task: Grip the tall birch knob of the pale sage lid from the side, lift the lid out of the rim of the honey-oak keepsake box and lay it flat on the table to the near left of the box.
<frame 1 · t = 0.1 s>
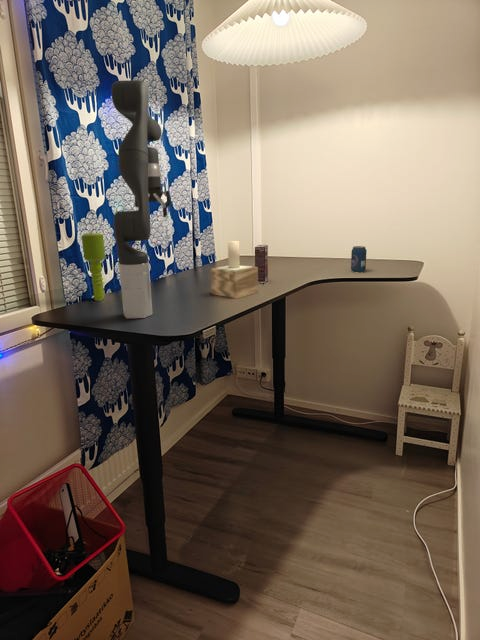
hand: (154, 217, 183), 29 cm above the table, tool pointing down, fingers open, 8 cm apart
supplement box: (261, 282, 198), on the table
keepsake box: (234, 293, 176), on the table
lid: (234, 270, 174), point 9 cm above the table, touching keepsake box
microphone: (99, 299, 172), on the table
soda can: (358, 272, 217), on the table
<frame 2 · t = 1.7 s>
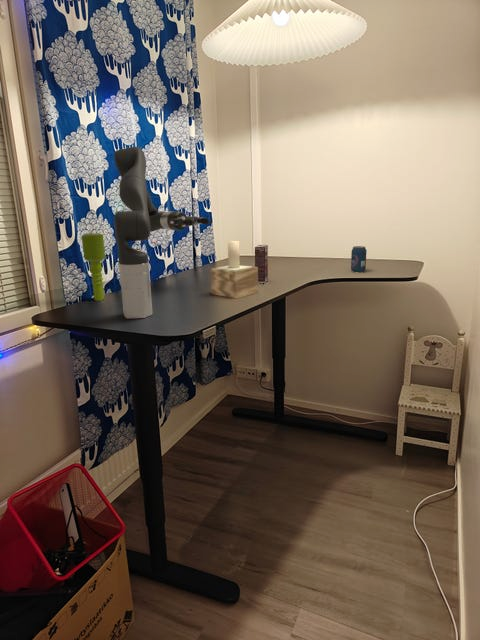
hand: (200, 221, 174), 28 cm above the table, tool horizontal, fingers open, 8 cm apart
nothing on the table moved.
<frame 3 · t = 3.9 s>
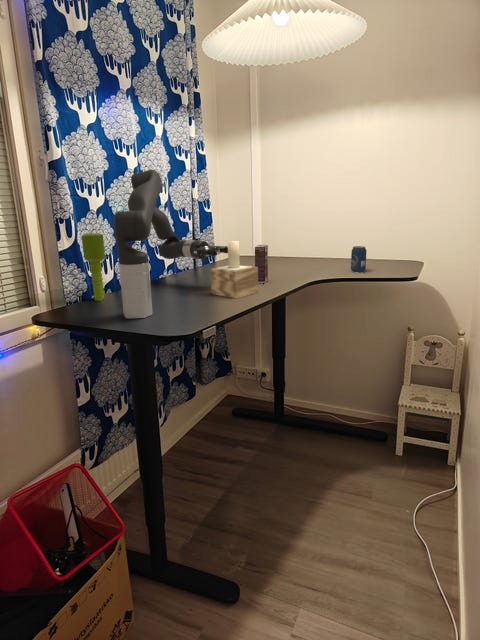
hand: (224, 251, 176), 16 cm above the table, tool horizontal, fingers open, 8 cm apart
nothing on the table moved.
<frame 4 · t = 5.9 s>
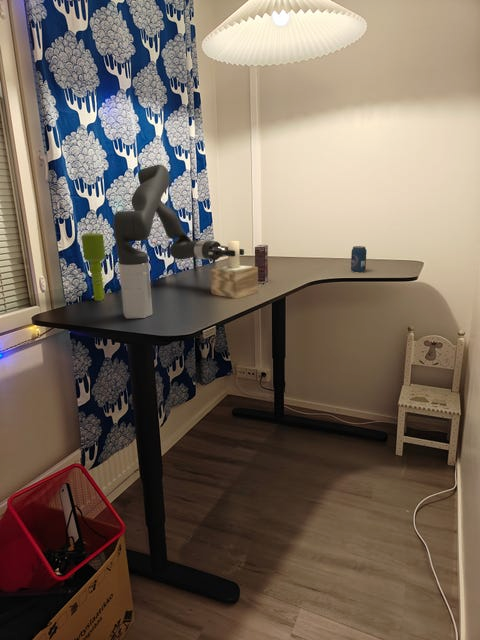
hand: (238, 252, 170), 16 cm above the table, tool horizontal, fingers closed on lid, 4 cm apart
lid: (234, 270, 174), point 9 cm above the table, touching gripper, keepsake box
everything else where it was.
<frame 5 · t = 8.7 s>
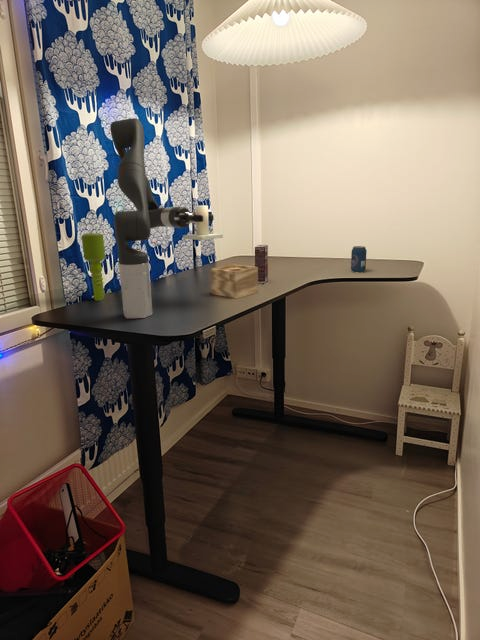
hand: (207, 218, 155), 30 cm above the table, tool horizontal, fingers closed on lid, 4 cm apart
lid: (203, 238, 159), point 23 cm above the table, touching gripper
everything else where it was.
when the fingers open (9 cm above the table, at t = 11.6 s): lid drops 2 cm, on the table.
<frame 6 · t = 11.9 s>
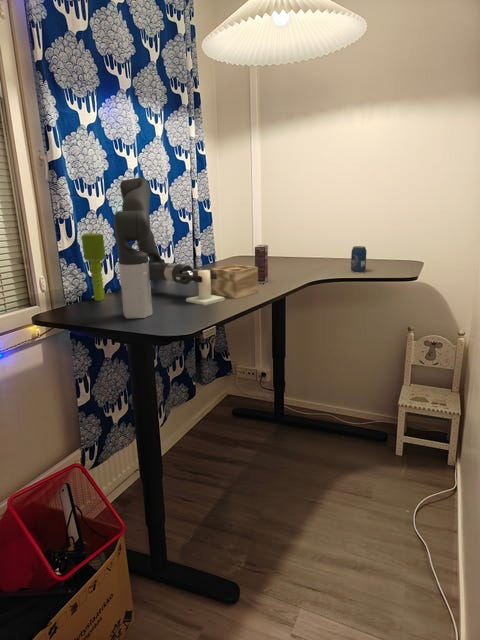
hand: (208, 277, 161), 9 cm above the table, tool horizontal, fingers open, 6 cm apart
lid: (205, 301, 165), on the table
everything else where it was.
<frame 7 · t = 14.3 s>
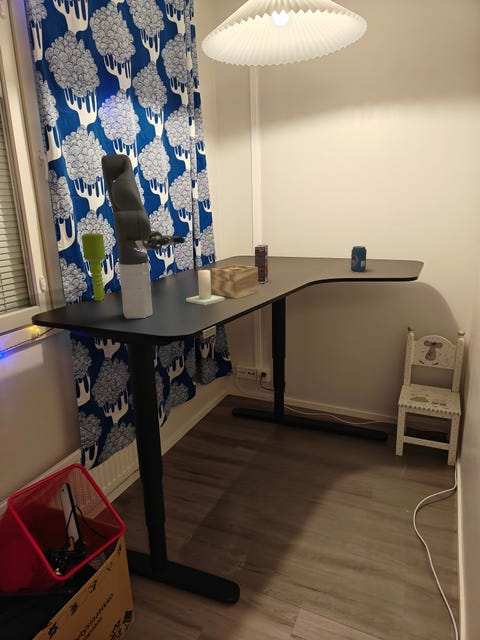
hand: (175, 241, 168), 21 cm above the table, tool horizontal, fingers open, 8 cm apart
nothing on the table moved.
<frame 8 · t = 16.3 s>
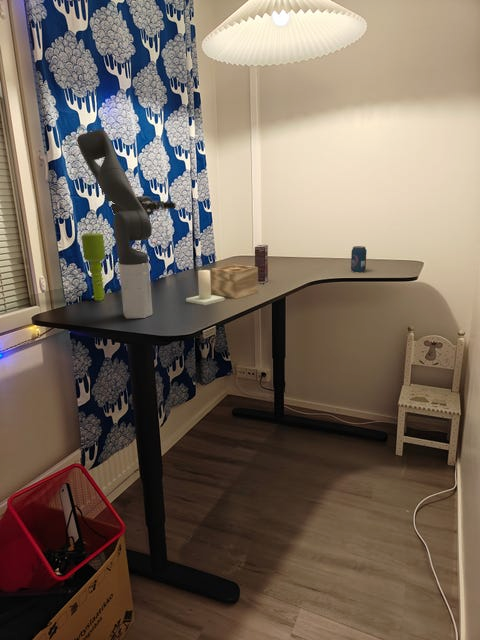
hand: (165, 205, 166), 34 cm above the table, tool horizontal, fingers open, 8 cm apart
nothing on the table moved.
at the end: lid inside the target area (0.1 cm from its centre), on the table; lid tilted 0°; the gripper is holding nothing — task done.
